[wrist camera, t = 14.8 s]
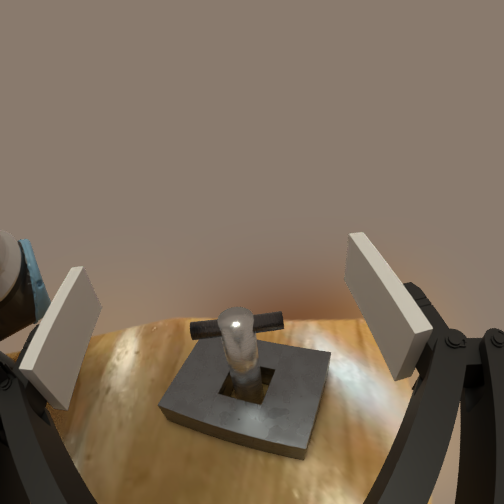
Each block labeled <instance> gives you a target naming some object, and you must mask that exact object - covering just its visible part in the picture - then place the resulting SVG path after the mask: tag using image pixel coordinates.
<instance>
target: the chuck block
mask: <svg viewBox="0 0 504 504" xmlns="http://www.w3.org/2000/svg"><path fill="white" fill-rule="evenodd" d="M257 348H258V355H259V363H260V371H261V379H262V383H263V384H268V385H269V388H268V390H267V393H266V395H265V398H264V400H263V403H262V405H258V404H254V403H250V402H246V401H243V400H239V399H235V398H231V397H229V396H230V394H231V392H232V390H233V388H234V387H233V383H232V379H231V375H230V371H229V367H228V363H227V359H226V355H225V351H224V347H223V343H222V339H221V337H218V338H209V339H199V341H198V342H197V344H196V345H195V347H194V348H193V350H192V352H191V353H190V355H189V356H188V358H187V359H186V361H185V363H184V364H183V366H182V367H181V369H180V370H179V372H178V374H177V375H176V377H175V378H174V380H173V382H172V383H171V385H170V386H169V388H168V389H167V391H166V393H165V394H164V396H163V397H162V399H161V400H160V402H159V404H158V406H159V408H160V409H161V411H162V412H163V414H164V415H165V417H166V418H167V420H170V421H172V422H175V423H177V424H180V425H182V426H185V427H188V428H190V429H193V430H196V431H199V432H201V433H204V434H207V435H210V436H213V437H216V438H219V439H222V440H226V441H229V442H232V443H235V444H239V445H242V446H246V447H249V448H253V449H257V450H261V451H265V452H269V453H273V454H277V455H282V456H286V457H291V458H295V459H301V460H304V458H305V455H306V451H307V448H308V445H309V442H310V438H311V435H312V431H313V428H314V424H315V421H316V417H317V414H318V410H319V406H320V402H321V398H322V394H323V391H324V387H325V382H326V378H327V374H328V370H329V363H330V356H331V352H325V351H319V350H312V349H306V348H300V347H294V346H288V345H282V344H277V343H271V342H266V341H261V340H257Z"/></svg>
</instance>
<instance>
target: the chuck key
mask: <svg viewBox="0 0 504 504" xmlns="http://www.w3.org/2000/svg"><path fill="white" fill-rule="evenodd" d="M281 329H284V323H283V316H282V312H281V311H279V312H272V313H265V314H258V315H253V314H252V312H251V311H250V310H248V309H246V308H243V307H233V308H229V309H227V310H225V311H223V312H222V313H221V314H220V315H219V317H218V319H217V320H207V321H198V322H190V333H191V338H192V340H198V339H209V338H218V337H221V339H222V343H223V347H224V351H225V355H226V359H227V363H228V367H229V371H230V375H231V379H232V383H233V387H234V390H235V394H236V398H237V399H239V400H243V401H246V402H250V403H254V404H258V405H262V403H263V400H264V394H263V387H262V379H261V371H260V363H259V355H258V348H257V340H256V333H260V332H267V331H274V330H281Z"/></svg>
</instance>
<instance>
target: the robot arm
mask: <svg viewBox="0 0 504 504" xmlns="http://www.w3.org/2000/svg"><path fill="white" fill-rule="evenodd" d="M344 280H345V282H346V284H347V286H348V288H349V290H350V292H351V294H352V295H353V297H354V299H355V301H356V303H357V305H358V307H359V309H360V311H361V313H362V315H363V317H364V319H365V321H366V323H367V325H368V327H369V329H370V331H371V333H372V335H373V337H374V339H375V341H376V343H377V345H378V347H379V349H380V351H381V353H382V355H383V357H384V359H385V362H386V364H387V366H388V368H389V370H390V372H391V374H392V377H393V379H394V381H398V380H401V379H404V378H407V377H410V376H411V375H412V374H413V371H414V370H415V368H416V369H417V370H418V372H419V374H420V375H419V377H418V379H417V380H416V382H415V384H414V386H413V388H412V390H413V393H412V396H411V399H410V402H409V405H408V408H407V410H406V413H405V416H404V418H403V421H402V423H401V426H400V428H399V431H398V433H397V436H396V438H395V440H394V443H393V445H392V447H391V450H390V452H389V454H388V456H387V458H386V460H385V463H384V465H383V467H382V469H381V471H380V473H379V475H378V477H377V479H376V481H375V483H374V485H373V487H372V488H371V490H370V492H369V494H368V496H367V498H366V499H365V501H364V503H363V504H427V503H428V501H429V499H430V496H431V494H432V491H433V489H434V486H435V484H436V481H437V478H438V476H439V473H440V470H441V467H442V464H443V461H444V458H445V455H446V452H447V449H448V445H449V442H450V439H451V435H452V431H453V428H454V424H455V420H456V415H457V411H458V407H459V403H461V406H460V407H461V408H460V409H461V435H460V459H459V473H458V482H457V491H456V499H455V504H504V332H503V331H501V330H499V329H496V328H492V329H489V330H487V331H486V333H485V335H484V337H483V338H466V336H465V335H464V334H463V333H462V332H460V331H458V330H456V329H449V328H448V326H447V325H446V323H445V322H444V320H443V319H442V317H441V316H440V315H439V313H438V312H437V310H436V309H435V308H434V307H433V305H431V302H430V301H429V299H427V297H426V296H425V294H424V293H423V291H422V290H421V289H420V288H419V287H417V286H416V285H414V284H413V283H412V282H409V283H404V284H402V282H401V281H400V280H399V278H398V277H397V276H396V274H395V273H394V272H393V270H392V269H391V268H390V266H389V265H388V264H387V262H386V261H385V260H384V258H383V257H382V256H381V254H380V253H379V252H378V250H377V249H376V248H375V247H374V245H373V244H372V243H371V242H370V240H369V239H368V238H367V236H366V235H365V234H364V233H363V232H359V233H351V234H349V235H348V247H347V258H346V269H345V277H344ZM101 309H102V306H101V304H100V302H99V300H98V298H97V295H96V293H95V291H94V289H93V287H92V284H91V282H90V280H89V277H88V275H87V273H86V270H85V268H84V266H81V267H73V268H71V270H70V272H69V273H68V275H67V277H66V278H65V280H64V282H63V283H62V285H61V287H60V288H59V290H58V292H57V294H56V295H55V297H54V299H53V301H52V302H51V301H50V298H49V296H48V293H47V291H46V288H45V285H44V282H43V280H42V277H41V274H40V271H39V268H38V265H37V262H36V259H35V256H34V252H33V249H32V246H31V243H30V241H29V240H28V239H24V240H19V241H16V239H15V238H14V237H13V236H12V235H11V234H10V233H8V232H6V231H4V230H0V341H2V340H4V339H5V338H7V337H9V336H11V335H13V334H15V333H16V332H18V331H20V330H22V329H24V328H26V327H27V326H29V325H31V324H36V323H37V322H38V320H40V319H42V318H43V319H42V321H41V323H40V324H38V325H37V326H36V327H35V328H34V329H33V330H32V331H31V333H30V334H29V336H28V338H27V340H26V341H27V342H25V344H24V347H23V349H22V350H21V353H20V355H19V357H18V359H17V361H16V362H15V361H14V360H13V359H11V358H10V357H8V356H7V355H5V354H4V353H2V352H1V351H0V504H30V502H31V504H97V502H96V501H95V499H94V497H93V496H92V494H91V493H90V491H89V489H88V488H87V486H86V484H85V483H84V481H83V479H82V478H81V476H80V474H79V472H78V471H77V469H76V467H75V465H74V463H73V462H72V460H71V458H70V456H69V454H68V452H67V450H66V448H65V446H64V444H63V442H62V440H61V438H60V436H59V433H58V431H57V429H56V427H55V425H54V422H53V420H52V418H51V415H50V413H49V411H48V410H47V408H46V407H45V406H46V403H47V402H48V403H49V404H50V405H51V406H52V407H53V408H54V409H60V410H68V408H69V404H70V400H71V397H72V394H73V390H74V387H75V383H76V380H77V377H78V374H79V371H80V368H81V365H82V361H83V358H84V356H85V353H86V350H87V347H88V344H89V341H90V338H91V336H92V333H93V330H94V327H95V324H96V322H97V319H98V317H99V314H100V312H101Z"/></svg>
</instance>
